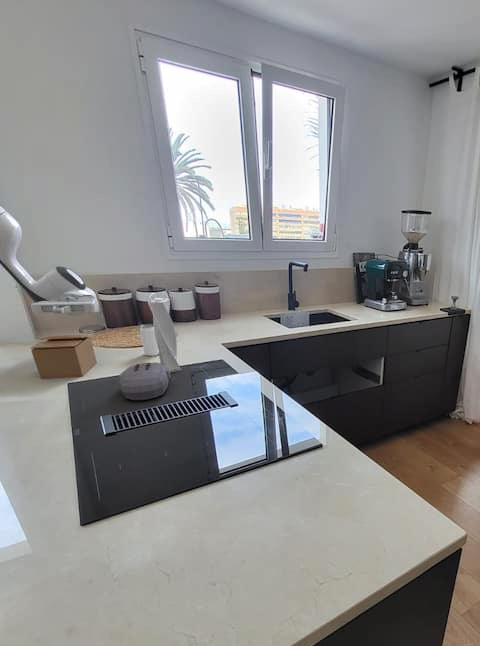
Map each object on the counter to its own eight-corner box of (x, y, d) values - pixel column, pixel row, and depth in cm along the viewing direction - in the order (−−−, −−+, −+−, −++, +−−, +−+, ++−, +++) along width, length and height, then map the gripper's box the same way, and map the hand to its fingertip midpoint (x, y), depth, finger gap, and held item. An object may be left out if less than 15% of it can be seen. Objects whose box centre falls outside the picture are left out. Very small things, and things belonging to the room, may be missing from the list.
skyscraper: (155, 368, 149) (140, 293, 137) (177, 364, 154) (164, 291, 142) (163, 374, 143) (148, 296, 132) (185, 370, 148) (173, 294, 137)
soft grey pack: (125, 382, 136) (116, 405, 119) (120, 359, 132) (110, 380, 115) (173, 377, 141) (170, 399, 124) (168, 355, 138) (166, 374, 121)
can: (148, 357, 161) (142, 328, 156) (142, 353, 165) (136, 325, 160) (164, 354, 165) (159, 326, 160) (158, 350, 169) (152, 323, 164)
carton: (58, 364, 150) (49, 336, 145) (97, 362, 153) (89, 334, 148) (40, 378, 137) (30, 347, 132) (82, 376, 140) (74, 345, 135)
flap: (50, 337, 145) (50, 336, 145) (89, 335, 148) (89, 334, 148) (40, 339, 138) (40, 338, 138) (81, 338, 142) (81, 337, 141)
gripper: (38, 296, 147) (20, 302, 135) (100, 295, 152) (87, 301, 140) (44, 312, 150) (26, 320, 138) (104, 311, 155) (91, 319, 143)
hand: (57, 311), depth 139 cm, fingers closed
